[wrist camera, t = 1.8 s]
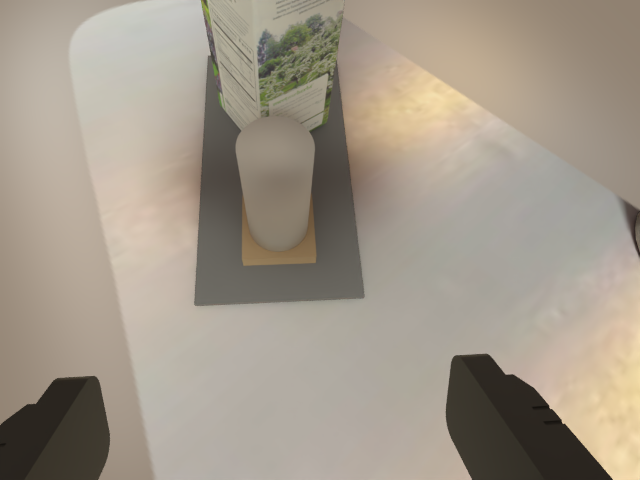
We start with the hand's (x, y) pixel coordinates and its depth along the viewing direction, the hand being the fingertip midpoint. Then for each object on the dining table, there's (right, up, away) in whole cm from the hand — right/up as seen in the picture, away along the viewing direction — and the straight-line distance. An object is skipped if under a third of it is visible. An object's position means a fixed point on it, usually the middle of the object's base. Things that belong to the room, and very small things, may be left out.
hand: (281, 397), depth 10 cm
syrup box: (-2, +12, +22) cm, 25 cm away
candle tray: (-2, +9, +20) cm, 22 cm away
